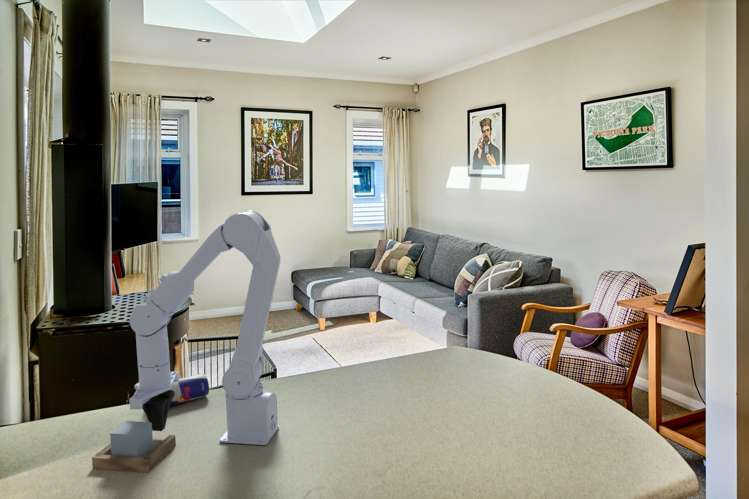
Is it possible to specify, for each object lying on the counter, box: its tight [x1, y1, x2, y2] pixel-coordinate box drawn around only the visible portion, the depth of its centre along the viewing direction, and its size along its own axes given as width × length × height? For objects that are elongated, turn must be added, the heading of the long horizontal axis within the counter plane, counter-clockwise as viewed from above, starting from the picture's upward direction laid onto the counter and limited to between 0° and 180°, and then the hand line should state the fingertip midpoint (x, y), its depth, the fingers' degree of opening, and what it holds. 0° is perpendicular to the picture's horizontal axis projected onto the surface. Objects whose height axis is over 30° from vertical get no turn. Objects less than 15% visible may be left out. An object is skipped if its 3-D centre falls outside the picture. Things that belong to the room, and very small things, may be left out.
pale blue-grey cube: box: [109, 420, 154, 458], centre depth 101 cm, size 5×6×6 cm
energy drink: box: [169, 373, 210, 407], centre depth 126 cm, size 5×5×12 cm
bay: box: [91, 434, 177, 473], centre depth 102 cm, size 10×10×2 cm
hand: (158, 429), depth 110 cm, fingers closed
